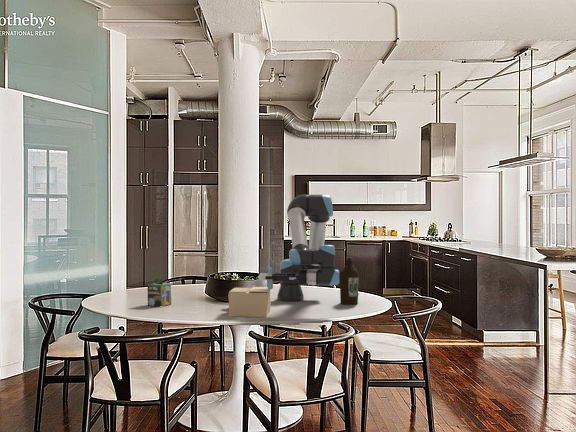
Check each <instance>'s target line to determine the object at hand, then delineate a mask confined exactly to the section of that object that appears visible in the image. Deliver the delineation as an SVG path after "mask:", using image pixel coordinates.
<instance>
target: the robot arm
mask: <svg viewBox="0 0 576 432" xmlns="http://www.w3.org/2000/svg"><path fill="white" fill-rule="evenodd" d="M286 214H287V216H286V217H287V219H288V220H289V224H290V225H289V226H290V233H291V234H290V235H291V236H290V237H291V243H292V244H291V245H292V248H291V249H290V250H289V253H288V257H289V258H285V259H283V260H281V261H280V267H279V269H280V271H279V272H275V273H274V272H273V274H272V275H268V272H267V273H265V272H262V273H260V274H258V281H268V280H273V282H280V287H279V288H278V289H279V290H278V292H277V295H276V299H277V301H281V302H282V301H283V302H300V301H304V300H305V296H304V292H303V289H302V286H306V285H308V286H312V287H315V286H339V285H340V278H339V274H340V270H339V269H336V247H335V245H333V244H325V239H326V230H327V222H329V220H330V217H333V216H334V206H333V200H332V197H331V195H330V194H299V195H297V196H295V197H294V198H292V200H291V201H290V202H289V204H288V205H287V210H286ZM305 217H307V218H308V220H309V221H310V225H309V240H308V238H307V231H306V230H307V229H306V223H305Z"/></svg>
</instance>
